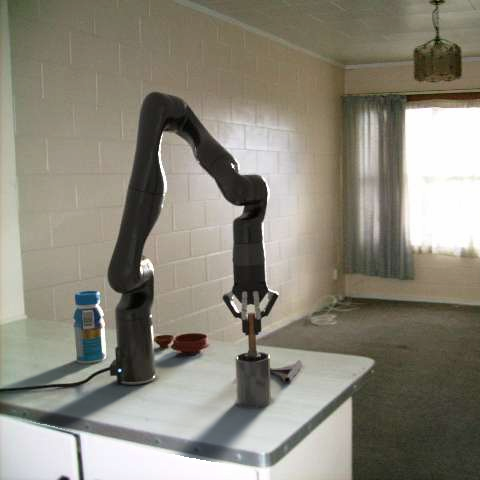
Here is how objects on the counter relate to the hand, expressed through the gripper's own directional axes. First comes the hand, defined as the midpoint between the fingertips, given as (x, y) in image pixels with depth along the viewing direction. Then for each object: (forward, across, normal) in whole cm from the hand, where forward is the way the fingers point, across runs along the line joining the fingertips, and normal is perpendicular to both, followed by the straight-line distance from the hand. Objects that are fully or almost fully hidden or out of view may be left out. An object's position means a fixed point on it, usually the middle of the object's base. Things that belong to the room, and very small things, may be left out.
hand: (251, 334), depth 149 cm
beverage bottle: (+17, +48, -40) cm, 65 cm away
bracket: (+17, -4, -20) cm, 26 cm away
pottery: (+17, +23, -46) cm, 54 cm away
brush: (+11, 0, 0) cm, 11 cm away
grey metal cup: (+17, 0, 0) cm, 17 cm away
